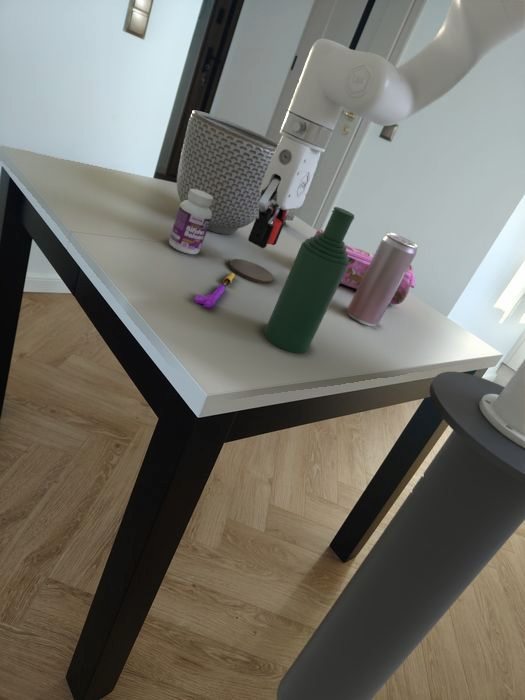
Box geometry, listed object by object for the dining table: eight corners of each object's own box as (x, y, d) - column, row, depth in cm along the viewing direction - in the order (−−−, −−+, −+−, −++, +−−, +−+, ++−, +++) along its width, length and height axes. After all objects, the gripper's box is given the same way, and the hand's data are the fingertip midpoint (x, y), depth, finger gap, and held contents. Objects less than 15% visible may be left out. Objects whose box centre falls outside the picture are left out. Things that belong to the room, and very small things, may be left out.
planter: (145, 208, 97) (173, 104, 88) (188, 200, 114) (215, 113, 106) (235, 252, 94) (274, 150, 86) (266, 237, 112) (300, 151, 104)
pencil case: (301, 277, 97) (320, 234, 93) (299, 262, 105) (316, 222, 101) (401, 315, 100) (424, 275, 96) (392, 298, 108) (412, 260, 104)
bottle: (313, 344, 71) (373, 220, 63) (299, 358, 65) (363, 224, 57) (274, 323, 72) (328, 199, 64) (256, 335, 67) (313, 201, 59)
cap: (250, 237, 83) (259, 216, 81) (252, 231, 87) (260, 210, 85) (273, 246, 84) (282, 225, 82) (273, 240, 87) (282, 219, 85)
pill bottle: (181, 255, 82) (199, 198, 78) (162, 240, 85) (178, 184, 81) (205, 255, 86) (224, 201, 82) (186, 241, 89) (203, 188, 85)
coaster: (279, 279, 90) (280, 276, 90) (262, 287, 83) (263, 284, 83) (241, 259, 92) (242, 256, 92) (221, 265, 85) (222, 262, 85)
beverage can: (348, 306, 92) (387, 229, 85) (378, 321, 91) (420, 244, 85) (343, 315, 86) (384, 234, 80) (375, 331, 86) (419, 250, 79)
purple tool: (211, 310, 68) (236, 278, 82) (212, 301, 67) (236, 271, 82) (192, 306, 68) (220, 275, 83) (193, 298, 68) (220, 268, 82)
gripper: (310, 139, 69) (261, 259, 77) (340, 146, 84) (296, 247, 92) (264, 117, 71) (220, 238, 79) (301, 128, 85) (261, 229, 93)
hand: (262, 242), depth 85 cm, fingers closed on cap, 3 cm apart
